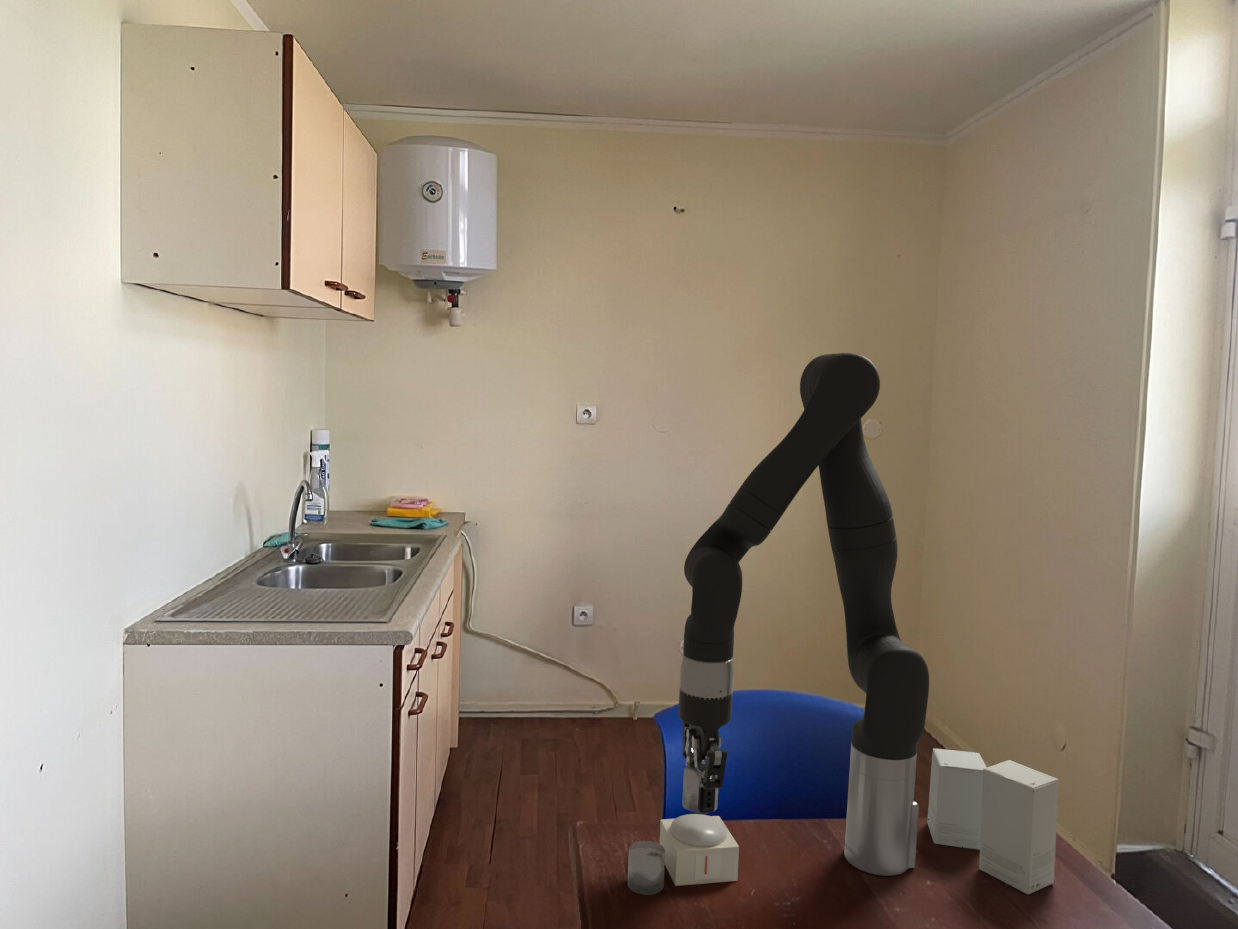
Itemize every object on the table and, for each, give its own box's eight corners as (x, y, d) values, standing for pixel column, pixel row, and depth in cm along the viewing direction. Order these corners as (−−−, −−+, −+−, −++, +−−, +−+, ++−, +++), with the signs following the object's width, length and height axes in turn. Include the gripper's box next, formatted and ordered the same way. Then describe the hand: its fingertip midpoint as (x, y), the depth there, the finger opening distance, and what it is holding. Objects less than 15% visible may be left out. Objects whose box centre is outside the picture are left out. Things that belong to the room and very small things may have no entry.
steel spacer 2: (711, 796, 130) (712, 763, 130) (721, 812, 126) (723, 778, 125) (678, 798, 129) (679, 764, 129) (687, 814, 125) (689, 780, 124)
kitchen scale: (717, 848, 134) (719, 810, 133) (738, 882, 125) (740, 842, 124) (659, 852, 132) (660, 814, 131) (676, 887, 123) (677, 847, 122)
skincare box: (1054, 885, 127) (1063, 779, 126) (1026, 897, 124) (1035, 789, 122) (1002, 857, 134) (1010, 757, 133) (974, 868, 131) (982, 766, 129)
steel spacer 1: (658, 873, 126) (660, 839, 126) (667, 893, 121) (669, 858, 121) (623, 876, 125) (625, 842, 125) (631, 896, 120) (633, 861, 120)
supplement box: (983, 851, 136) (990, 771, 135) (932, 844, 137) (938, 765, 136) (974, 828, 143) (980, 752, 142) (926, 822, 144) (931, 746, 143)
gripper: (749, 704, 120) (741, 825, 121) (715, 669, 134) (709, 779, 135) (695, 705, 118) (688, 828, 120) (667, 671, 132) (662, 781, 134)
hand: (700, 801), depth 127 cm, fingers closed on steel spacer 2, 5 cm apart
